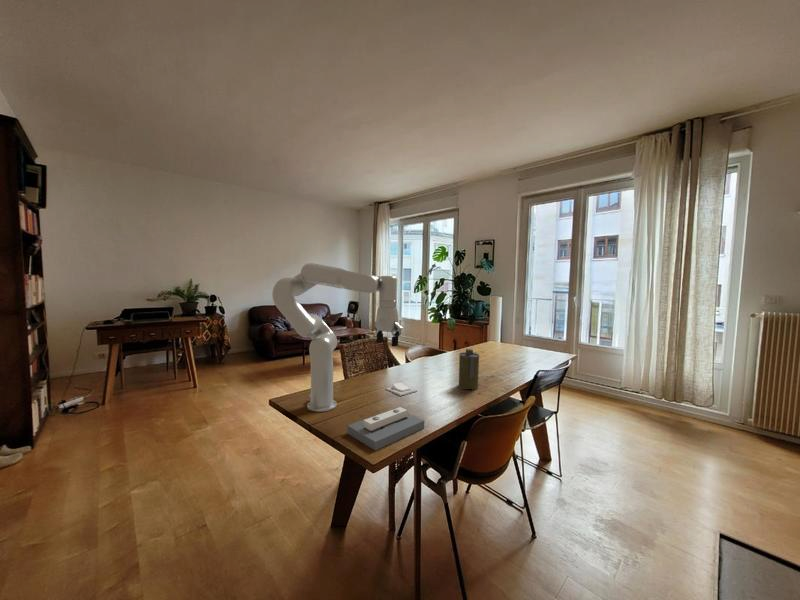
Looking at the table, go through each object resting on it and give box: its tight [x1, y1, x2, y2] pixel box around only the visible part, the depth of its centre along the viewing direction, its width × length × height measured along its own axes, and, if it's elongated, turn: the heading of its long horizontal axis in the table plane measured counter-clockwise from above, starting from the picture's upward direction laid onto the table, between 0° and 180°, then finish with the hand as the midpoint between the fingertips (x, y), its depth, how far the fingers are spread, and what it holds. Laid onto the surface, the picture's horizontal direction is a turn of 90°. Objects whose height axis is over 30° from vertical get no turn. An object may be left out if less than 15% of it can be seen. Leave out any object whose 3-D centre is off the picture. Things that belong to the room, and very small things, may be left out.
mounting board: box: [346, 407, 425, 451], centre depth 120 cm, size 16×24×3 cm, turn 134°
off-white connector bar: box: [363, 406, 408, 433], centre depth 120 cm, size 4×18×6 cm, turn 134°
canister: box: [458, 348, 480, 391], centre depth 170 cm, size 11×10×20 cm
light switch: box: [385, 382, 418, 397], centre depth 164 cm, size 11×4×13 cm
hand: (387, 344), depth 140 cm, fingers open, 9 cm apart
